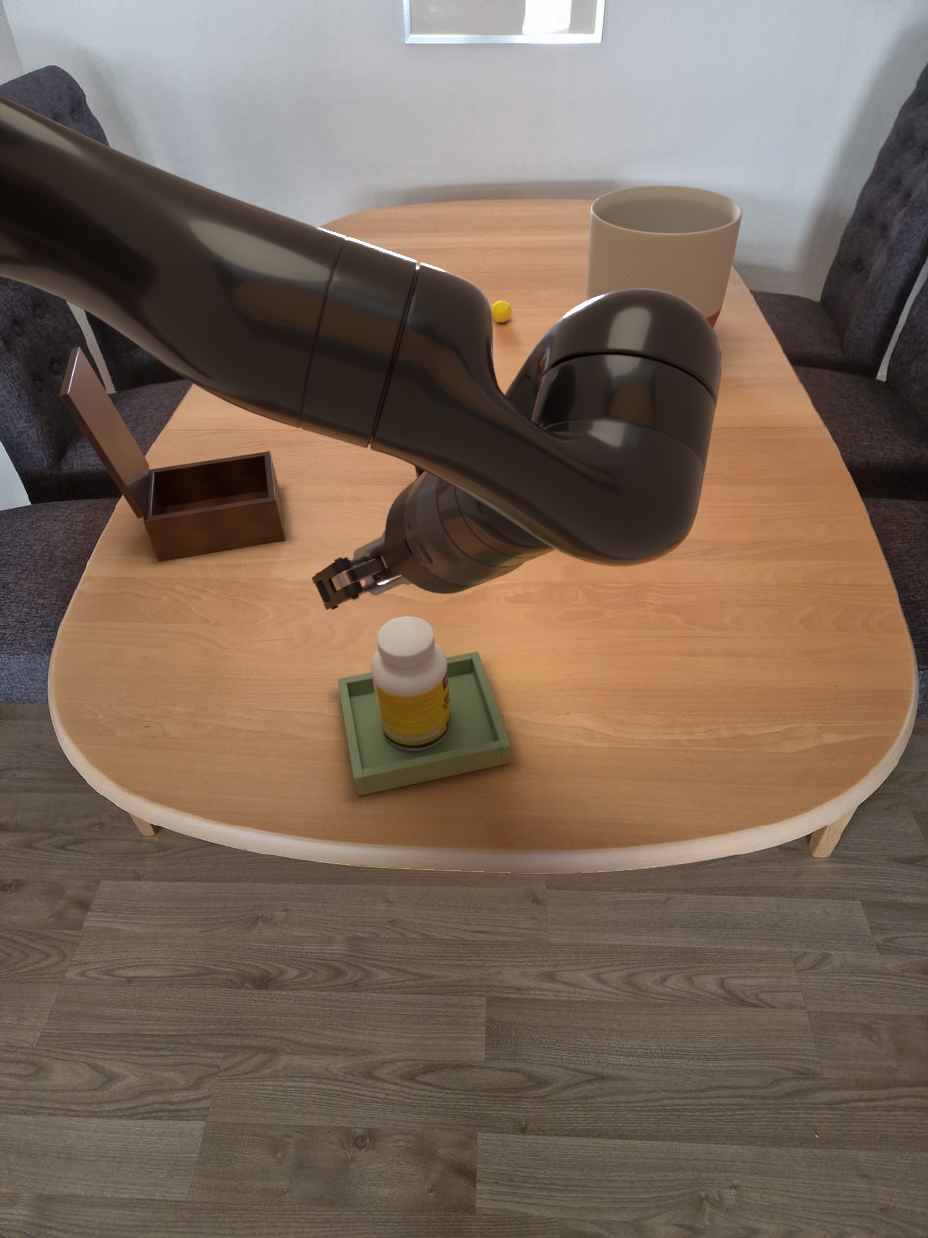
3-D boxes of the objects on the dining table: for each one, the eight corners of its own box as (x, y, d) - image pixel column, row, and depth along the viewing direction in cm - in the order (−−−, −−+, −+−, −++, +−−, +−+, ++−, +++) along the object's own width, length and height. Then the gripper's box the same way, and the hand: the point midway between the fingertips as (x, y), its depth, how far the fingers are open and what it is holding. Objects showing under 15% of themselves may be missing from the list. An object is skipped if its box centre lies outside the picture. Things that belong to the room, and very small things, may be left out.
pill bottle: (450, 754, 71) (444, 664, 63) (377, 754, 71) (361, 665, 63) (452, 697, 76) (446, 607, 68) (384, 698, 76) (369, 608, 68)
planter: (696, 324, 133) (720, 181, 118) (729, 384, 118) (761, 230, 103) (572, 330, 133) (581, 188, 118) (590, 390, 118) (602, 237, 103)
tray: (357, 796, 69) (353, 778, 67) (341, 696, 77) (337, 678, 75) (510, 763, 71) (510, 745, 69) (478, 669, 79) (478, 651, 77)
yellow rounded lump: (495, 327, 134) (488, 305, 133) (493, 322, 140) (487, 301, 138) (515, 319, 134) (508, 298, 132) (512, 314, 139) (505, 294, 138)
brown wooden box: (279, 490, 103) (270, 450, 98) (285, 540, 95) (275, 499, 91) (161, 508, 100) (147, 469, 96) (158, 561, 93) (142, 521, 89)
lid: (79, 345, 85) (71, 348, 85) (67, 393, 78) (59, 395, 78) (149, 464, 96) (142, 467, 96) (145, 516, 89) (137, 518, 89)
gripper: (538, 424, 50) (447, 490, 65) (330, 504, 44) (283, 556, 59) (587, 535, 50) (485, 576, 65) (387, 628, 45) (326, 649, 60)
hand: (389, 566), depth 62 cm, fingers open, 8 cm apart
